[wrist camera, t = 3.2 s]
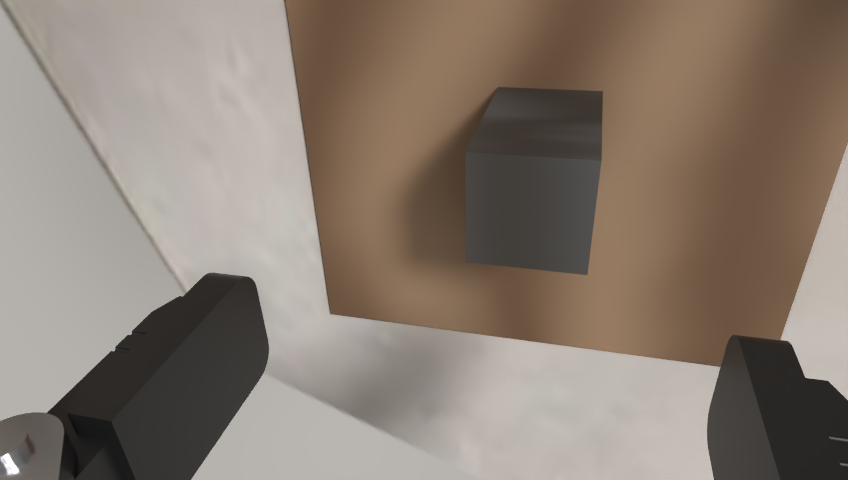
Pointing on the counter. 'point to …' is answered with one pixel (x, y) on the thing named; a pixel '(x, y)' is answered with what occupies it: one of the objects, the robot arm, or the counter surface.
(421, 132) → the lid
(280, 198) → the counter surface
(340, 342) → the counter surface
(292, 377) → the counter surface
